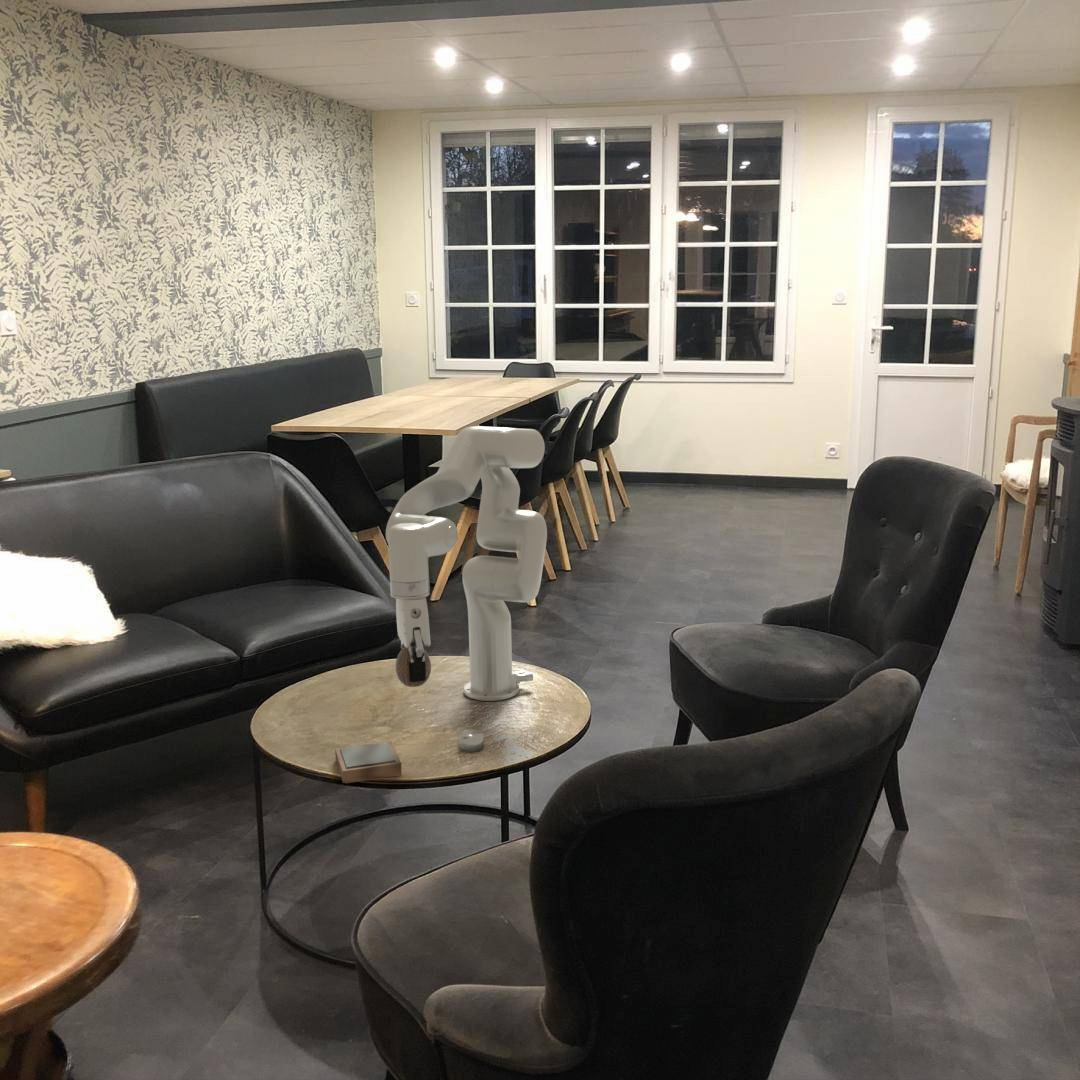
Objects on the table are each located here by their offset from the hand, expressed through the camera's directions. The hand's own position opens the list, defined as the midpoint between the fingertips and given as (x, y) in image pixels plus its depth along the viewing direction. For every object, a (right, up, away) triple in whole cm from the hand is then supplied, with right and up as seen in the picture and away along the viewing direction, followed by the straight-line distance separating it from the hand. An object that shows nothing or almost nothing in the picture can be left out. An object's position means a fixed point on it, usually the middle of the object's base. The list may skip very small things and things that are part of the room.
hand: (413, 674), depth 219 cm
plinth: (-8, -17, -5) cm, 20 cm away
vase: (0, -2, 0) cm, 2 cm away
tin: (+11, -15, +3) cm, 19 cm away
